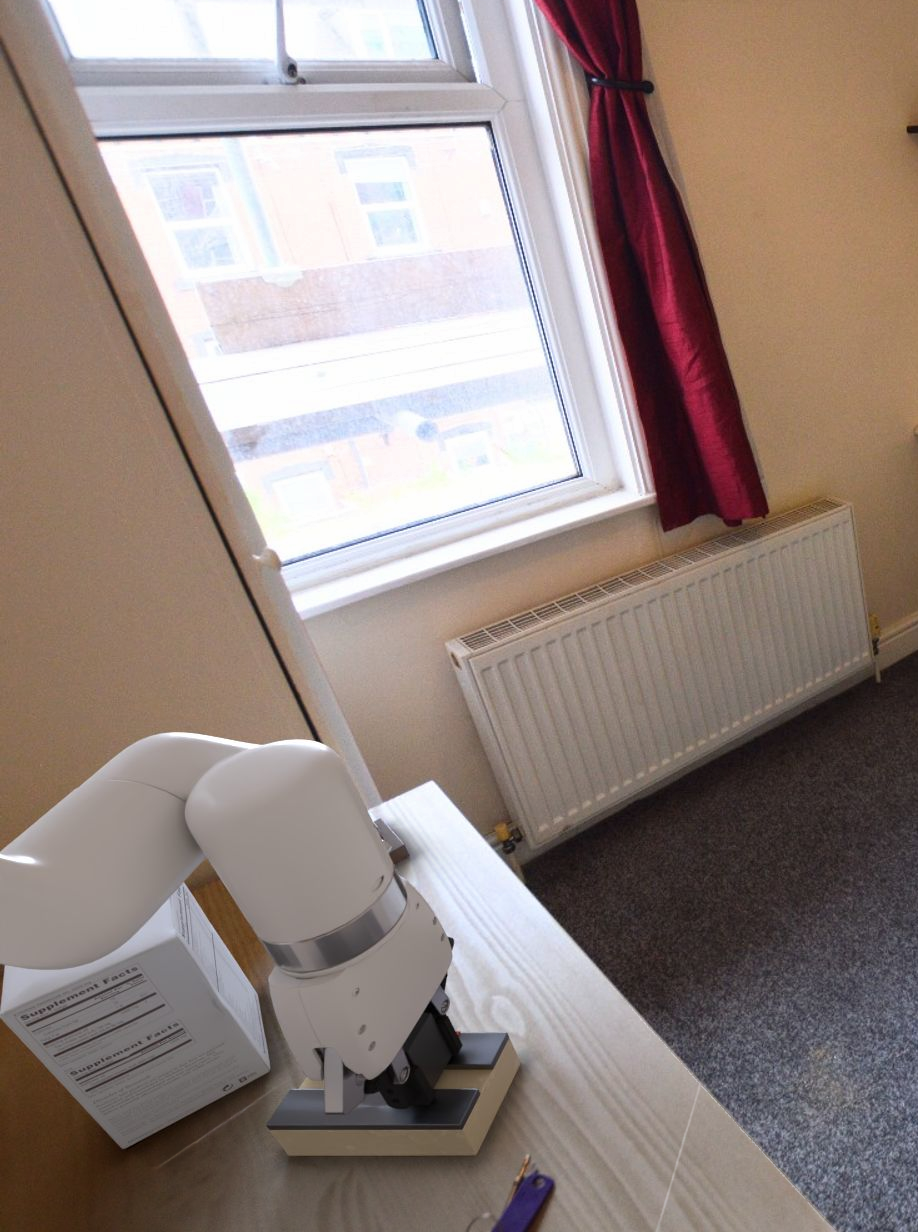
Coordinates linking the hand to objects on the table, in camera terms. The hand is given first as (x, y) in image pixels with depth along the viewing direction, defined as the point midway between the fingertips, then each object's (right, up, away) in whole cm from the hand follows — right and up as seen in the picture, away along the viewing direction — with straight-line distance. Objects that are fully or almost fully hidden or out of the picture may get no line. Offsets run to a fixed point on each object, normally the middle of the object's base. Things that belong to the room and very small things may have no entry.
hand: (426, 1074), depth 65 cm
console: (-3, -4, +2) cm, 5 cm away
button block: (-22, +8, +23) cm, 33 cm away
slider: (0, -1, 0) cm, 1 cm away
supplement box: (-22, -2, +5) cm, 23 cm away
